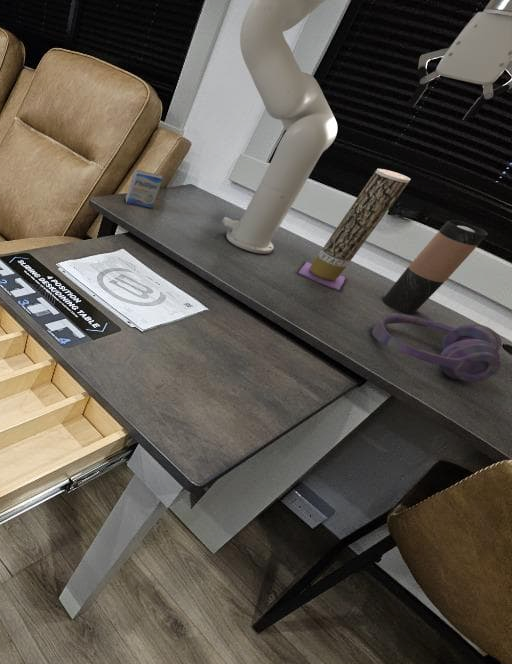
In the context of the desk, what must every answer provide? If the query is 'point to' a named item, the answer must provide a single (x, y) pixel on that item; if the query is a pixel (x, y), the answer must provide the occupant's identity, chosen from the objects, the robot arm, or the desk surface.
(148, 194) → the medicine box
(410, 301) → the travel mug
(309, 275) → the mat
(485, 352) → the headphones
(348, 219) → the paper tube
